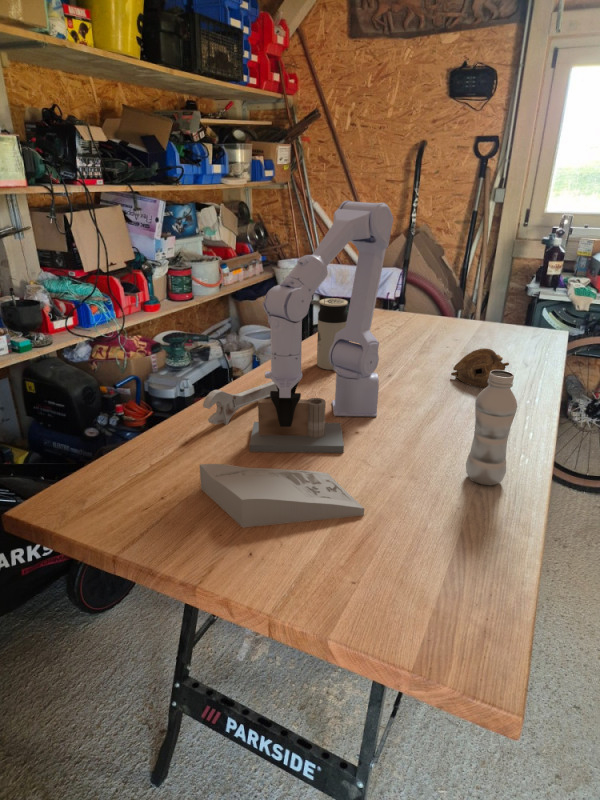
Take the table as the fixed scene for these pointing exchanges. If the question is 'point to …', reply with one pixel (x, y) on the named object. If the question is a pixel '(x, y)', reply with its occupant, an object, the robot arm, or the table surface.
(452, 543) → the table surface
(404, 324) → the table surface
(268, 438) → the hinge board
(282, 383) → the robot arm
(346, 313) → the travel mug
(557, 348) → the table surface
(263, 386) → the wrench
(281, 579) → the table surface
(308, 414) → the door
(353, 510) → the ramp
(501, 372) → the plastic bottle
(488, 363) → the lumpy brown dome
